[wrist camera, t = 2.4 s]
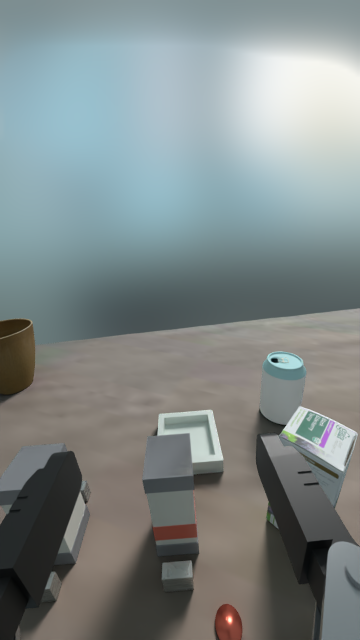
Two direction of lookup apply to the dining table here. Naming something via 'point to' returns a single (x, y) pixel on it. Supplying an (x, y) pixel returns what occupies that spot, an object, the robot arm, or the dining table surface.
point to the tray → (196, 438)
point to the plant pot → (16, 355)
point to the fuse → (17, 475)
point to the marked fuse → (171, 493)
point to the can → (281, 386)
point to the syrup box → (320, 449)
